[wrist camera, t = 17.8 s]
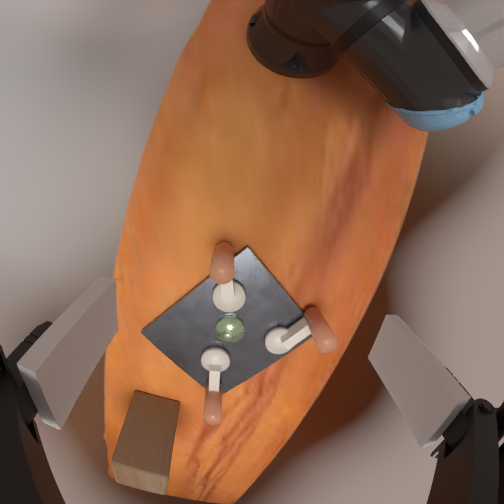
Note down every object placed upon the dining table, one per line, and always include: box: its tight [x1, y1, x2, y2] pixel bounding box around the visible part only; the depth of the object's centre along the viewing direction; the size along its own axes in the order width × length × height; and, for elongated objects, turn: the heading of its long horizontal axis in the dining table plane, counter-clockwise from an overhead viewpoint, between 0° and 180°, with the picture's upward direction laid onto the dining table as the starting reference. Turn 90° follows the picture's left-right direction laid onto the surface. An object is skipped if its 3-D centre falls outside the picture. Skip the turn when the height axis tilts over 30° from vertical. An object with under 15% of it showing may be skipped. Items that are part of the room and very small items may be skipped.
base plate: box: [141, 245, 312, 394], centre depth 46 cm, size 24×20×2 cm
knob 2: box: [201, 347, 230, 425], centre depth 43 cm, size 11×5×9 cm, turn 174°
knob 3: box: [265, 307, 338, 354], centre depth 42 cm, size 11×5×9 cm, turn 129°
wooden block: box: [111, 391, 180, 495], centre depth 42 cm, size 10×10×20 cm
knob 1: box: [209, 242, 245, 312], centre depth 38 cm, size 11×5×9 cm, turn 5°
